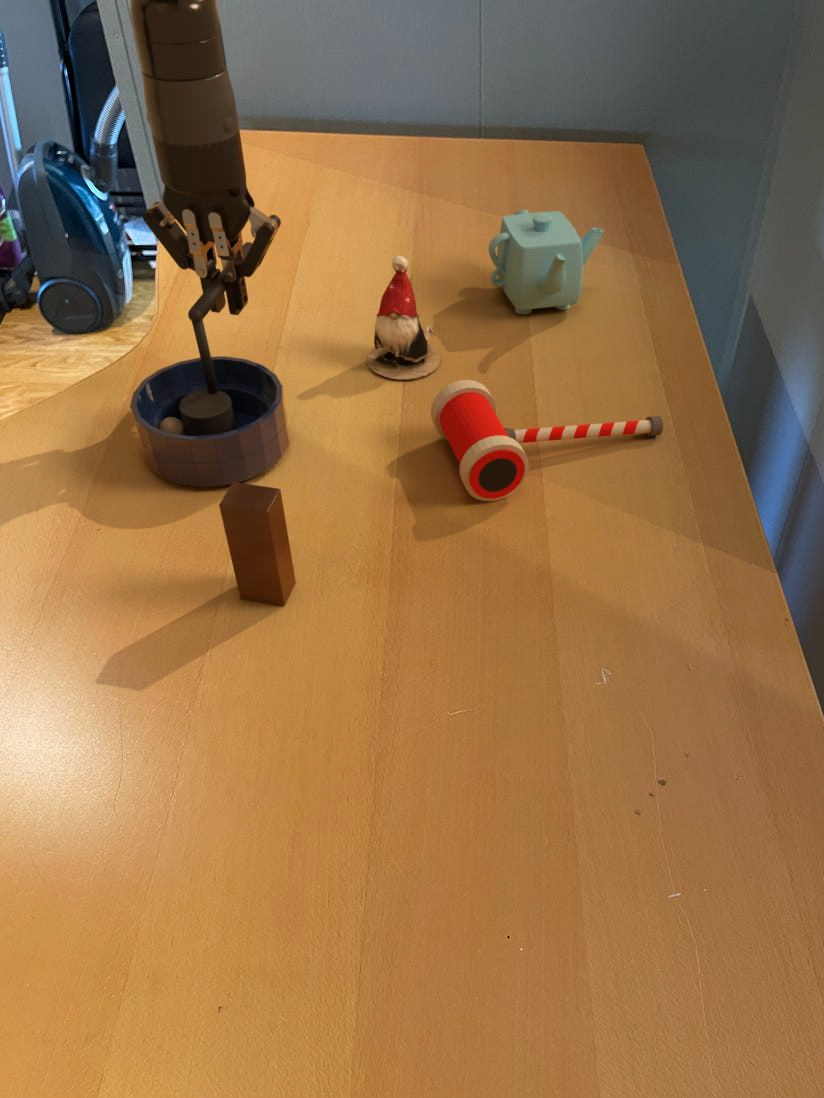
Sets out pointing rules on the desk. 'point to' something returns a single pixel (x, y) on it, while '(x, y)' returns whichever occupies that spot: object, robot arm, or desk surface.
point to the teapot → (541, 260)
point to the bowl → (222, 454)
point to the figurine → (401, 332)
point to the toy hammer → (504, 438)
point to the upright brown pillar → (258, 542)
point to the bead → (172, 426)
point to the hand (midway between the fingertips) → (227, 309)
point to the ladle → (208, 373)
